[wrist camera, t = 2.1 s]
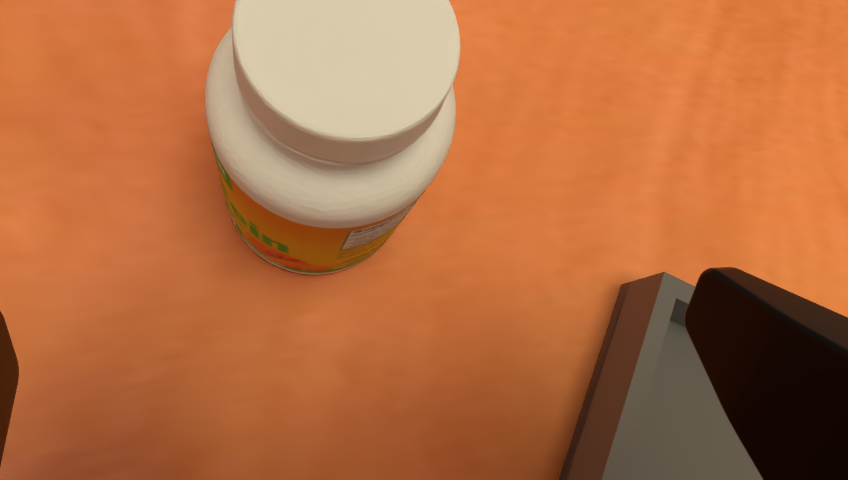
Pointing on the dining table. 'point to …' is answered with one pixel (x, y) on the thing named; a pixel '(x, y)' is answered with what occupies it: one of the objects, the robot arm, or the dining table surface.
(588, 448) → the charcoal tray
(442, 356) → the dining table surface
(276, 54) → the supplement bottle
